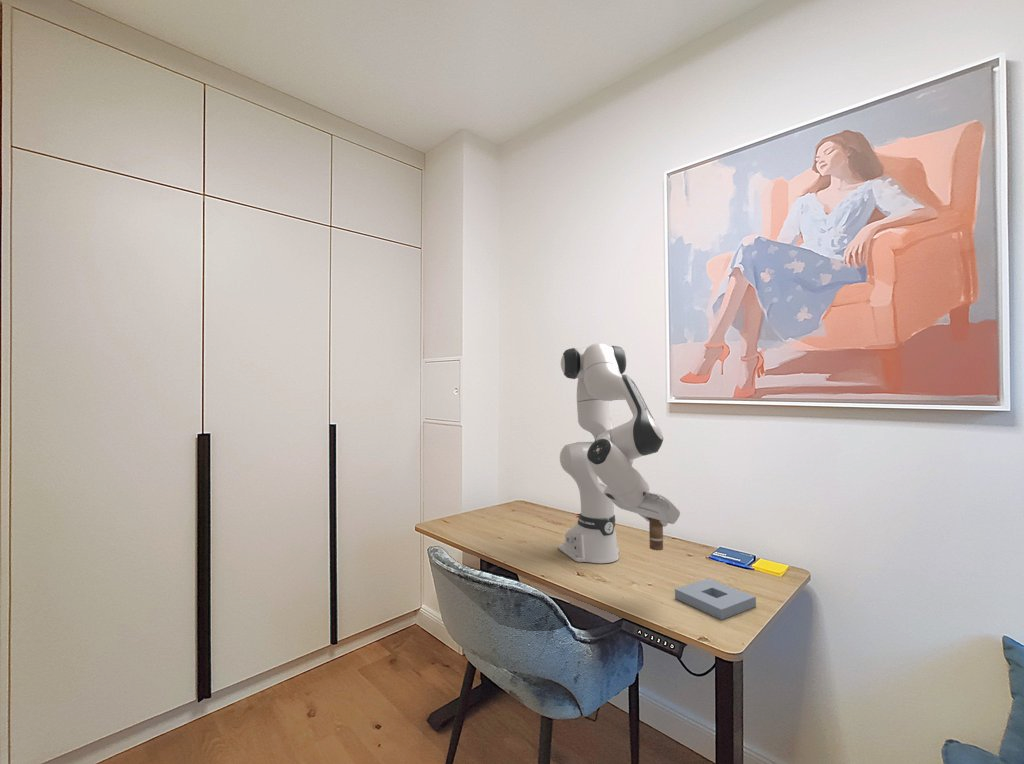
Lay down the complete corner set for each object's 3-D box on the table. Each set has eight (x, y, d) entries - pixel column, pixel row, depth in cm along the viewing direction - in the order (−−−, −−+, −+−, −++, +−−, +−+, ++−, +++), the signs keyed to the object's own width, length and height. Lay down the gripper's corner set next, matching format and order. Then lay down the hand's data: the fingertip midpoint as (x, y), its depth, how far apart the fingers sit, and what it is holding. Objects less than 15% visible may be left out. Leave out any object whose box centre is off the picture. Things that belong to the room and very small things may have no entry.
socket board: (675, 598, 124) (674, 588, 124) (708, 587, 131) (708, 578, 132) (721, 619, 112) (721, 609, 112) (755, 606, 119) (755, 596, 119)
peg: (646, 547, 126) (646, 503, 126) (655, 545, 128) (655, 501, 128) (656, 551, 123) (656, 505, 123) (666, 549, 125) (665, 504, 125)
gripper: (668, 487, 113) (695, 521, 118) (611, 474, 131) (636, 505, 136) (655, 507, 111) (683, 542, 116) (599, 492, 129) (625, 522, 133)
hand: (657, 522), depth 126 cm, fingers closed on peg, 3 cm apart
